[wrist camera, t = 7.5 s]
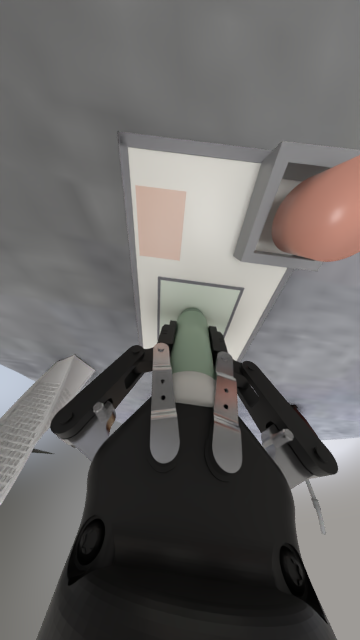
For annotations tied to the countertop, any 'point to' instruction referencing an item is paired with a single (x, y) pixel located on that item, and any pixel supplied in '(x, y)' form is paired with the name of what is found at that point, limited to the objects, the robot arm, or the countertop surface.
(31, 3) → the countertop surface
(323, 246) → the button
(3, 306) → the countertop surface
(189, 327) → the marker
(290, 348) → the countertop surface
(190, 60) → the countertop surface
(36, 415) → the skyscraper
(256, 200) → the white flat board
